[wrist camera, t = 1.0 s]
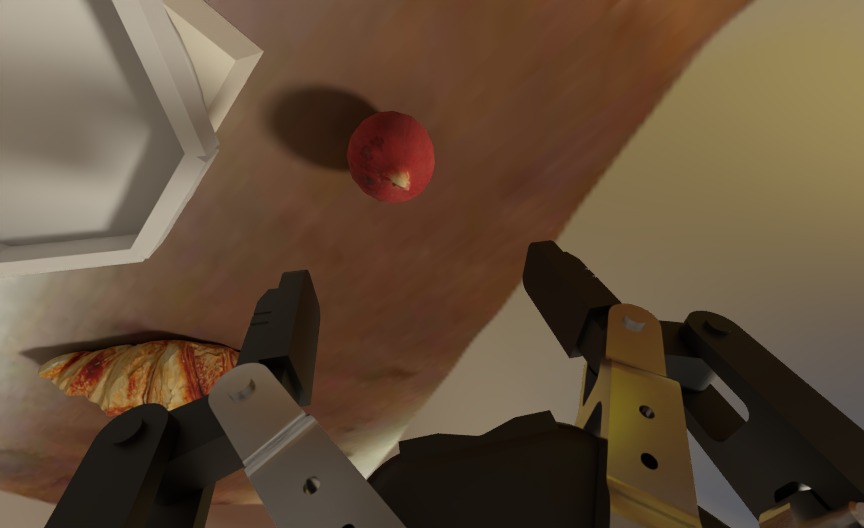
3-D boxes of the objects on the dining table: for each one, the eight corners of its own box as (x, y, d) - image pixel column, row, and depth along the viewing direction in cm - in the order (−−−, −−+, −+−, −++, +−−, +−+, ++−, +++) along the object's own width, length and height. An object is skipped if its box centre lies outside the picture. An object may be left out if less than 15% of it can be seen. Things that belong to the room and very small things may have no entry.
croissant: (86, 344, 34) (43, 427, 31) (27, 318, 26) (-42, 428, 22) (296, 361, 42) (282, 430, 38) (301, 345, 33) (283, 431, 30)
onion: (358, 184, 26) (359, 235, 20) (339, 107, 22) (333, 139, 16) (427, 172, 27) (451, 218, 20) (420, 96, 23) (445, 123, 17)
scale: (-147, -347, 11) (-1112, -1061, 4) (296, 51, 20) (264, 66, 13) (-180, 62, 17) (-603, 94, 9) (181, 232, 26) (112, 317, 18)
